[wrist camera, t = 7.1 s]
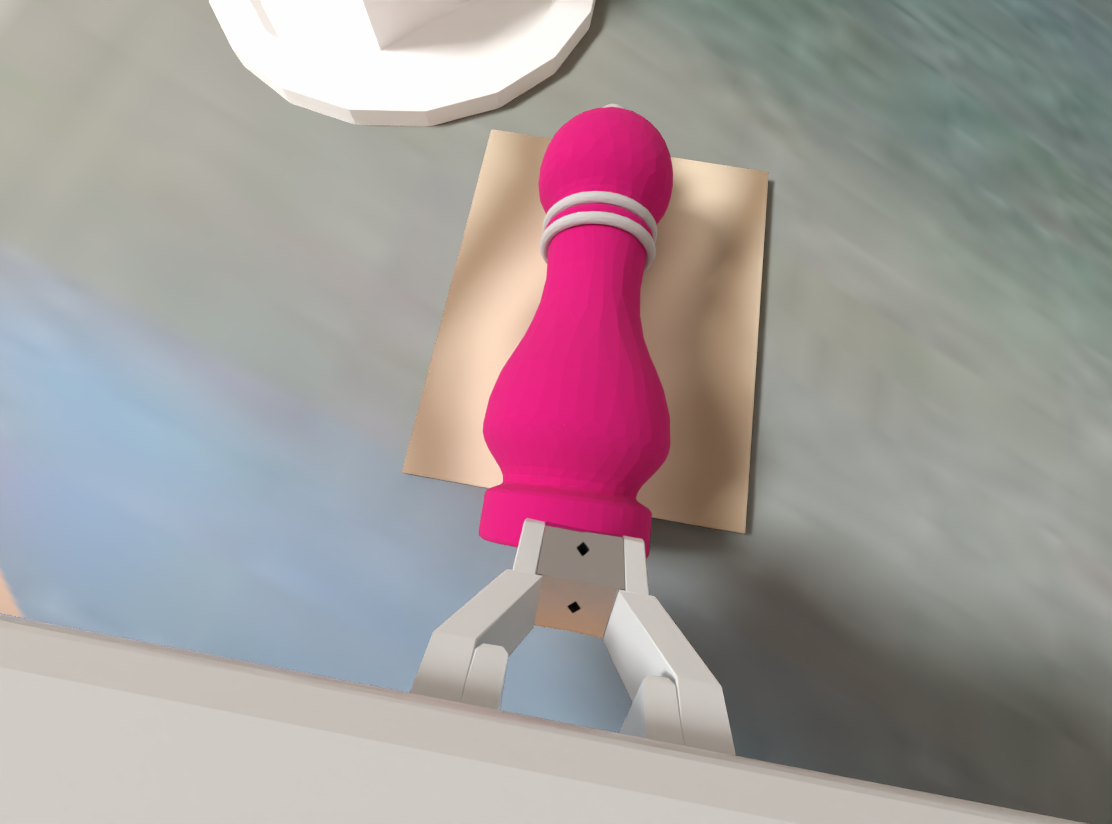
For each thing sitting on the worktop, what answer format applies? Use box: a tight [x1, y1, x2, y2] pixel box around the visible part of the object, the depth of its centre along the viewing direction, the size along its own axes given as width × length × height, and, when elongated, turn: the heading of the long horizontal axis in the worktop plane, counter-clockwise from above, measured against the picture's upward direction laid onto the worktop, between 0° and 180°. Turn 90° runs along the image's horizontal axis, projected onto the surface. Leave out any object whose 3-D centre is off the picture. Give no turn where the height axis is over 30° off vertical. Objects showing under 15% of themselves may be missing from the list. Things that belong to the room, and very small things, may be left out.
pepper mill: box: [479, 104, 673, 559], centre depth 18 cm, size 7×7×20 cm
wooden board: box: [402, 129, 769, 534], centre depth 23 cm, size 16×20×1 cm
